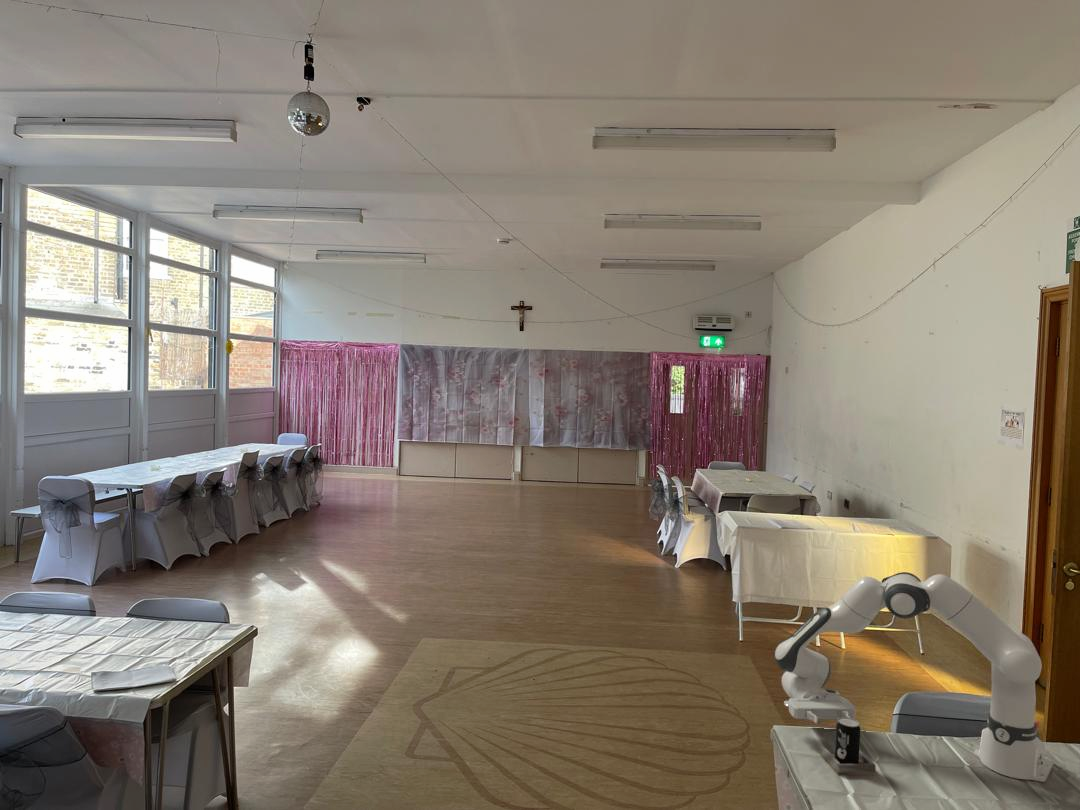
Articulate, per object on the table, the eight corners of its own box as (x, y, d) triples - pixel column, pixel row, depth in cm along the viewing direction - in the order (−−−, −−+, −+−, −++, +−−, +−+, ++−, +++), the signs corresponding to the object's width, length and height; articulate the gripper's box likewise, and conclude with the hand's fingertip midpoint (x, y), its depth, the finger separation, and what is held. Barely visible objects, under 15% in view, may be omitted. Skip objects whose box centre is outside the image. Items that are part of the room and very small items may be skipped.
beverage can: (860, 769, 209) (863, 728, 209) (836, 765, 210) (839, 725, 210) (855, 757, 216) (857, 717, 215) (832, 754, 217) (834, 715, 216)
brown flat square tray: (819, 755, 218) (820, 746, 218) (854, 754, 219) (855, 745, 219) (838, 775, 207) (838, 765, 207) (875, 774, 208) (875, 765, 208)
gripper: (781, 690, 233) (801, 710, 220) (842, 691, 235) (865, 710, 222) (780, 710, 234) (800, 731, 220) (841, 710, 236) (864, 731, 222)
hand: (833, 720), depth 221 cm, fingers open, 8 cm apart
